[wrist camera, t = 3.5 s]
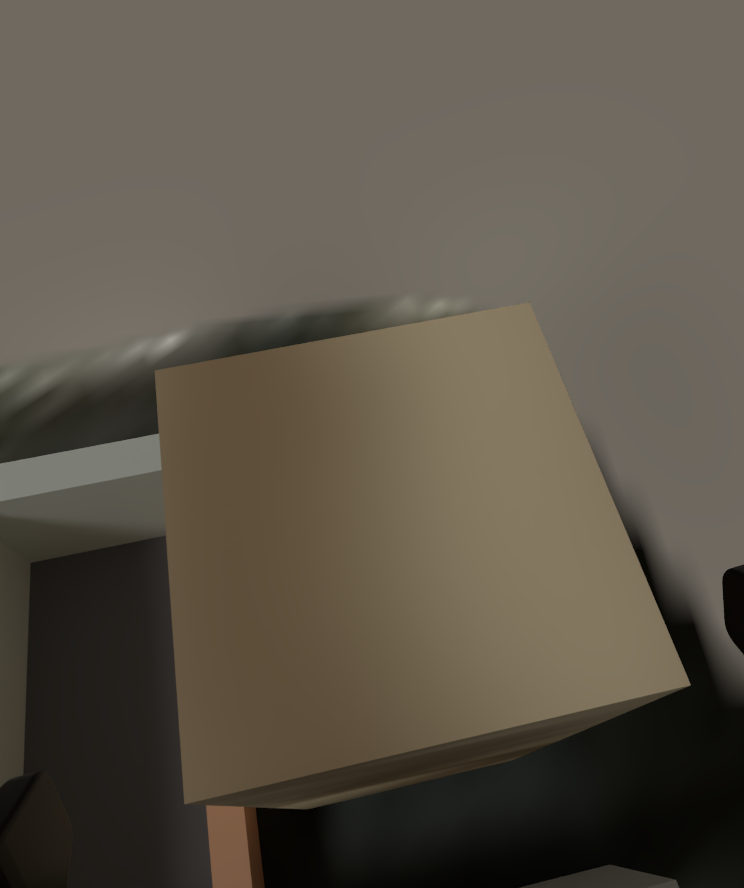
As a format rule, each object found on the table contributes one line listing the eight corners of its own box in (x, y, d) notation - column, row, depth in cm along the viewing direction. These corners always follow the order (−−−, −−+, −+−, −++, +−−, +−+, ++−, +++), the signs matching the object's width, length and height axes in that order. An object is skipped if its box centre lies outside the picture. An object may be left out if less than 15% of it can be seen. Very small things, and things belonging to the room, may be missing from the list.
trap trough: (473, 446, 20) (491, 370, 17) (626, 917, 15) (701, 949, 11) (1, 540, 19) (-86, 479, 16) (-31, 1090, 14) (-177, 1187, 10)
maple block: (456, 565, 19) (529, 302, 9) (511, 760, 16) (691, 684, 7) (277, 604, 18) (154, 370, 9) (308, 809, 16) (184, 805, 6)
